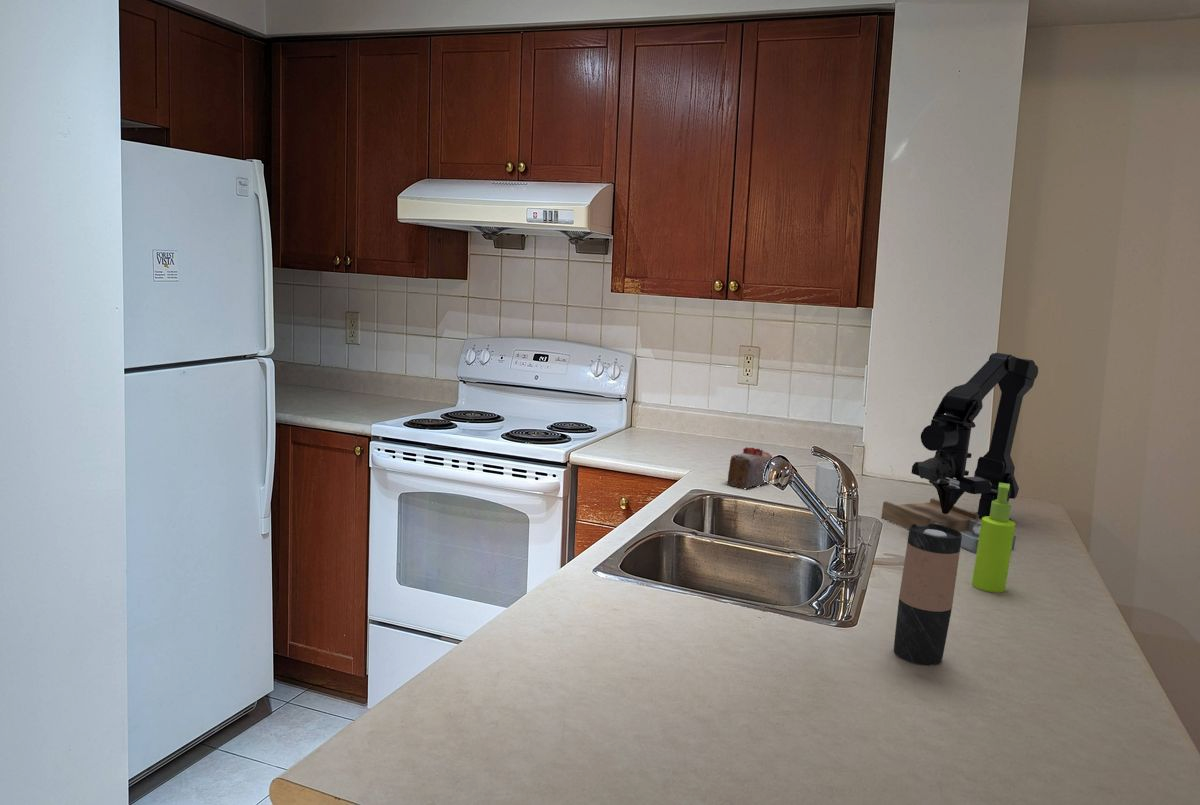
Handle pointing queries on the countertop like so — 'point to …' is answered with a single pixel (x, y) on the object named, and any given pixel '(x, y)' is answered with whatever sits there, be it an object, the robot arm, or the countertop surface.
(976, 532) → the ball
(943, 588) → the travel mug
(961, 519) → the deck
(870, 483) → the countertop surface
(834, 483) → the white cup
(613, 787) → the countertop surface
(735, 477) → the food item
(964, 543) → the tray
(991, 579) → the soap dispenser
